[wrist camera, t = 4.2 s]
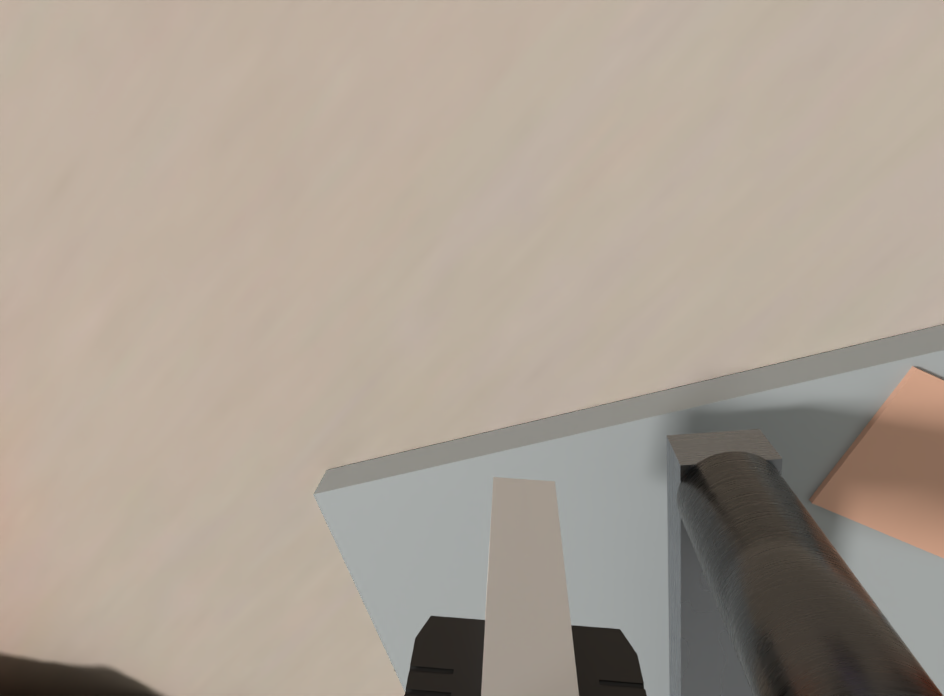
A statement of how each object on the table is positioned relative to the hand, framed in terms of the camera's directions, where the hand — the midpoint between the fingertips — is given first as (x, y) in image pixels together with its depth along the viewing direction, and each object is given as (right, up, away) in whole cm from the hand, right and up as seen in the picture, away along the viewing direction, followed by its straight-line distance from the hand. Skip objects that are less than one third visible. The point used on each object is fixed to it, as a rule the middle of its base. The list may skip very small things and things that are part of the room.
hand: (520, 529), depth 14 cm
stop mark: (+13, +1, +4) cm, 13 cm away
